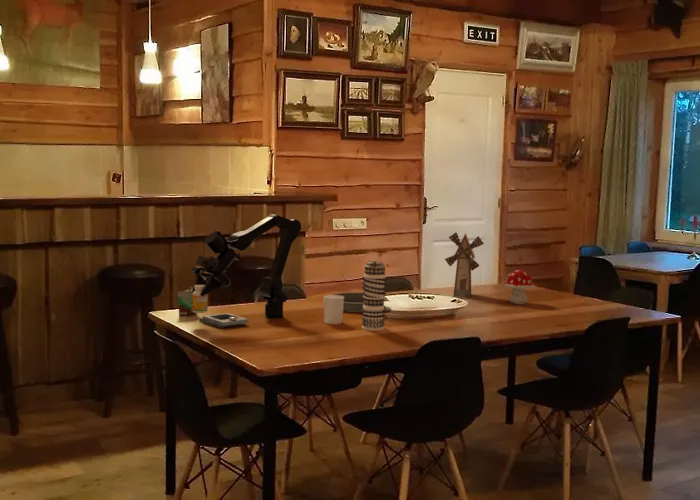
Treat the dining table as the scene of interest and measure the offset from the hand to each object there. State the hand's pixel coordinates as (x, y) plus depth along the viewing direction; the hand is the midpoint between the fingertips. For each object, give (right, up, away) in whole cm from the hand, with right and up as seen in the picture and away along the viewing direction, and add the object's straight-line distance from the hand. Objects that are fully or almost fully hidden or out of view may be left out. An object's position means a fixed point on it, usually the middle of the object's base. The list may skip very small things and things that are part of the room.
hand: (196, 294), depth 300 cm
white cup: (+49, -12, +17) cm, 53 cm away
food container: (-7, -9, +24) cm, 26 cm away
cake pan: (+59, -8, +49) cm, 77 cm away
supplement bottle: (+1, -7, +2) cm, 7 cm away
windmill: (+108, -5, +85) cm, 138 cm away
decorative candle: (+64, -13, +9) cm, 66 cm away
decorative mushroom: (+131, -8, +70) cm, 148 cm away
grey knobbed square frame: (+8, -11, +9) cm, 17 cm away
